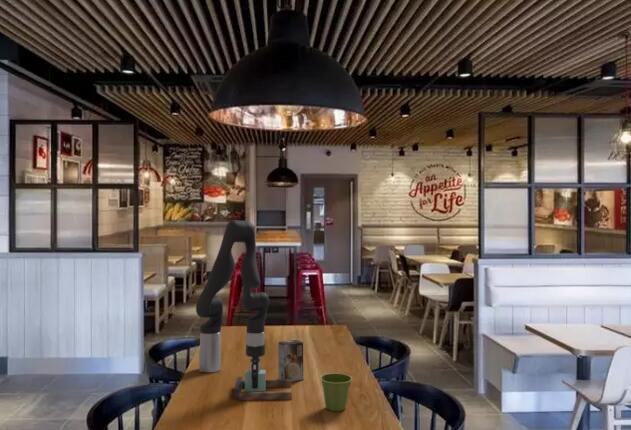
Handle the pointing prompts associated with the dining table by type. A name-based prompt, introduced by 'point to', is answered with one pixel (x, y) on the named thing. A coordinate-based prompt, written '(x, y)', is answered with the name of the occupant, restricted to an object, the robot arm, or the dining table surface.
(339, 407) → the plant pot
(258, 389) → the block
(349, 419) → the dining table surface
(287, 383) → the channel
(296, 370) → the coffee box
